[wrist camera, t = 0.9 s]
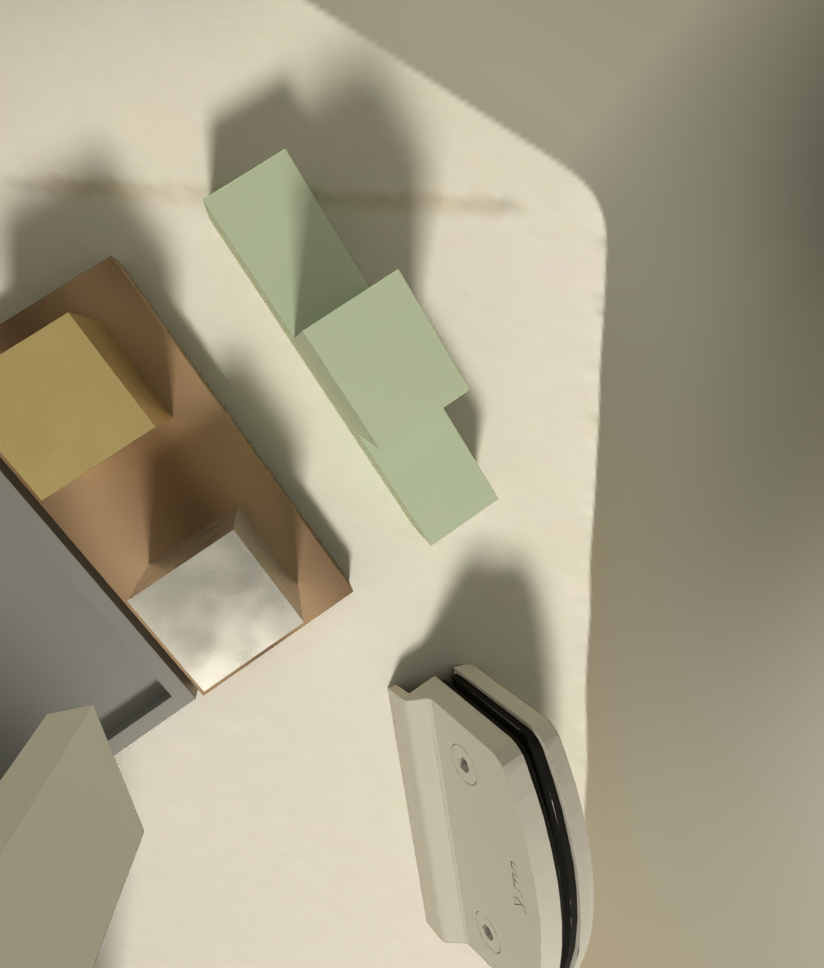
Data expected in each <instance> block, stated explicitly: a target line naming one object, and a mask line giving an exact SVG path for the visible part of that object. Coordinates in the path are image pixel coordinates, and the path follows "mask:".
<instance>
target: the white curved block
mask: <svg viewBox="0 0 824 968" xmlns="http://www.w3.org/2000/svg"><path fill="white" fill-rule="evenodd" d="M454 673H455V675H453V676H451V677H452V685H453V686H452V685H451V684H450V683H448V682H447V681H446V680H442V681H441V680H439V679H438V678H437V677H436V676H434V677H432V678H431V679H429V680H428V681H426V682H425V683H423V684H422V685H421V686H419V687H418V688H416V689H415V690H413V691H412V692H411V693H408V692H406V691H405V690H403V689H402V688H400V687H399V686H398V685H396V684H395V685H393V686H391V687H389V688H388V693H389V699H390V705H391V711H392V717H393V723H394V729H395V735H396V741H397V747H398V753H399V759H400V765H401V771H402V777H403V783H404V789H405V795H406V801H407V807H408V813H409V819H410V825H411V831H412V837H413V843H414V848H415V854H416V860H417V866H418V872H419V878H420V884H421V890H422V896H423V902H424V908H425V914H426V920H427V923H428V924H429V926H430V927H431V928H432V929H433V930H434V932H435V933H436V934H437V935H438V937H439V938H440V939H441V940H442V941H443V942H446V943H466V944H468V945H470V946H471V947H472V948H473V949H474V950H475V951H476V952H477V953H478V954H479V955H480V956H481V957H482V958H483V959H484V960H485V961H486V962H487V963H488V964H489V965H490V966H491V967H492V968H578V966H579V965H580V963H581V962H582V960H583V958H584V956H585V953H586V950H587V948H588V943H589V939H590V935H591V929H592V922H593V908H594V888H593V872H592V862H591V855H590V847H589V841H588V836H587V831H586V825H585V821H584V816H583V811H582V807H581V803H580V799H579V796H578V792H577V788H576V784H575V781H574V778H573V775H572V771H571V768H570V765H569V762H568V759H567V756H566V753H565V750H564V748H563V745H562V742H561V739H560V736H559V734H558V732H557V731H556V729H555V727H554V726H553V725H552V724H551V722H550V721H549V720H547V719H546V718H545V717H543V716H542V715H541V714H539V713H538V712H536V711H535V710H534V709H532V708H531V707H530V706H528V705H527V704H526V703H524V702H523V701H522V700H520V699H519V698H517V697H516V696H515V695H513V694H512V693H511V692H509V691H508V690H507V689H505V688H504V687H502V686H501V685H500V684H498V683H497V682H496V681H494V680H493V679H492V678H490V677H489V676H487V675H486V674H485V673H483V672H482V671H481V670H479V669H478V668H477V667H475V666H474V665H473V664H464V665H460V666H455V667H454Z"/></svg>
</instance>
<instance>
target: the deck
mask: <svg viewBox="0 0 824 968" xmlns="http://www.w3.org/2000/svg"><path fill="white" fill-rule="evenodd" d="M68 312H69V313H72V314H76V315H79V316H83V317H87V318H90V319H94V320H97V321H101V322H102V323H103V324H104V325H105V327H106V328H107V330H108V331H109V332H110V334H111V335H112V336H113V338H114V339H115V340H116V342H117V343H118V344H119V346H120V347H121V348H122V350H123V351H124V352H125V354H126V355H127V356H128V358H129V359H130V360H131V362H132V363H133V364H134V366H135V367H136V368H137V370H138V371H139V372H140V374H141V375H142V376H143V378H144V379H145V380H146V382H147V383H148V384H149V386H150V387H151V388H152V390H153V391H154V392H155V394H156V395H157V396H158V398H159V399H160V400H161V402H162V403H163V404H164V406H165V407H166V408H167V410H168V411H169V412H170V414H171V415H172V416H173V417H172V418H171V419H169V420H168V421H166V422H165V423H163V424H162V425H160V426H159V427H157V428H156V429H154V430H152V431H151V432H149V433H148V434H146V435H145V436H143V437H142V438H140V439H139V440H137V441H135V442H134V443H132V444H131V445H129V446H128V447H126V448H125V449H123V450H122V451H120V452H118V453H117V454H115V455H114V456H112V457H111V458H109V459H108V460H106V461H105V462H103V463H102V464H100V465H98V466H97V467H95V468H94V469H92V470H91V471H89V472H88V473H86V474H85V475H83V476H81V477H80V478H78V479H77V480H75V481H73V482H72V483H70V484H68V485H67V486H65V487H63V488H62V489H60V490H58V491H57V492H55V493H53V494H52V495H50V496H48V497H47V498H45V499H43V500H41V499H40V498H39V497H38V496H37V495H36V493H35V492H34V491H33V490H32V489H31V487H30V486H29V485H28V484H27V483H26V482H25V480H24V479H23V478H22V477H21V476H20V475H19V473H18V472H17V471H16V470H15V469H14V467H13V466H12V465H11V464H10V463H9V462H8V460H7V459H6V458H5V457H4V456H3V454H2V453H1V452H0V457H1V458H2V460H3V461H4V462H5V463H6V464H7V465H8V467H9V468H10V469H11V470H12V471H13V472H14V474H15V475H16V476H17V477H18V478H19V480H20V481H21V482H22V483H23V484H24V485H25V487H26V488H27V489H28V490H29V491H30V492H31V494H32V495H33V496H34V497H35V498H36V499H37V501H38V502H39V503H40V504H41V505H42V507H43V508H44V509H45V510H46V511H47V512H48V514H49V515H50V516H51V517H52V518H53V519H54V521H55V522H56V523H57V524H58V525H59V527H60V528H61V529H62V530H63V531H64V532H65V534H66V535H67V536H68V537H69V538H70V539H71V541H72V542H73V543H74V544H75V545H76V546H77V548H78V549H79V550H80V551H81V552H82V554H83V555H84V556H85V557H86V558H87V559H88V561H89V562H90V563H91V564H92V565H93V566H94V568H95V569H96V570H97V571H98V572H99V574H100V575H101V576H102V577H103V578H104V579H105V581H106V582H107V583H108V584H109V585H110V586H111V588H112V589H113V590H114V591H115V592H116V593H117V595H118V596H119V597H120V598H121V599H122V601H123V602H124V603H125V604H126V605H127V606H128V608H129V609H130V610H131V611H132V612H133V613H134V615H135V616H136V617H137V618H138V619H139V620H140V622H141V623H142V624H143V625H144V626H145V628H146V629H147V630H148V631H149V632H150V633H151V635H152V636H153V637H154V638H155V639H156V640H157V642H158V643H159V644H160V645H161V646H162V648H163V649H164V650H165V651H166V652H167V653H168V655H169V656H170V657H171V658H172V659H173V660H174V662H175V663H176V664H177V665H178V666H179V667H180V669H181V670H182V671H183V672H184V673H185V675H186V676H187V677H188V678H189V679H190V680H191V682H192V683H193V684H194V685H195V686H196V687H197V689H198V690H199V691H200V692H201V693H202V695H203V696H204V695H205V694H207V693H208V692H209V691H211V690H212V689H214V688H215V687H217V686H218V685H219V684H221V683H222V682H224V681H225V680H227V679H228V678H230V677H231V676H232V675H234V674H235V673H237V672H238V671H240V670H241V669H242V668H244V667H245V666H247V665H248V664H250V663H251V662H253V661H254V660H255V659H257V658H258V657H260V656H261V655H263V654H264V653H265V652H267V651H268V650H270V649H271V648H273V647H274V646H276V645H277V644H278V643H280V642H281V641H283V640H284V639H286V638H287V637H288V636H290V635H291V634H293V633H294V632H296V631H297V630H299V629H300V628H301V627H303V626H304V625H306V624H307V623H309V622H310V621H311V620H313V619H314V618H316V617H317V616H319V615H320V614H322V613H323V612H324V611H326V610H327V609H329V608H330V607H332V606H333V605H334V604H336V603H337V602H339V601H340V600H342V599H343V598H345V597H346V596H347V595H349V594H350V593H352V592H353V590H352V588H351V585H350V583H349V581H348V580H347V578H346V577H345V575H344V574H343V573H342V571H341V570H340V568H339V567H338V566H337V564H336V563H335V561H334V560H333V559H332V557H331V556H330V555H329V553H328V552H327V550H326V549H325V548H324V546H323V545H322V543H321V542H320V541H319V539H318V538H317V536H316V535H315V534H314V532H313V531H312V529H311V528H310V527H309V525H308V524H307V523H306V521H305V520H304V518H303V517H302V516H301V514H300V513H299V511H298V510H297V509H296V507H295V506H294V504H293V503H292V502H291V500H290V499H289V497H288V496H287V495H286V493H285V492H284V491H283V489H282V488H281V486H280V485H279V484H278V482H277V481H276V479H275V478H274V477H273V475H272V474H271V472H270V471H269V470H268V468H267V467H266V466H265V464H264V463H263V461H262V460H261V459H260V457H259V456H258V454H257V453H256V452H255V450H254V449H253V447H252V446H251V445H250V443H249V442H248V440H247V439H246V438H245V436H244V435H243V434H242V432H241V431H240V429H239V428H238V427H237V425H236V424H235V422H234V421H233V420H232V418H231V417H230V415H229V414H228V413H227V411H226V410H225V408H224V407H223V406H222V404H221V403H220V402H219V400H218V399H217V397H216V396H215V395H214V393H213V392H212V390H211V389H210V388H209V386H208V385H207V383H206V382H205V381H204V379H203V378H202V376H201V375H200V374H199V372H198V371H197V370H196V368H195V367H194V365H193V364H192V363H191V361H190V360H189V358H188V357H187V356H186V354H185V353H184V351H183V350H182V349H181V347H180V346H179V344H178V343H177V342H176V340H175V339H174V338H173V336H172V335H171V333H170V332H169V331H168V329H167V328H166V326H165V325H164V324H163V322H162V321H161V319H160V318H159V317H158V315H157V314H156V312H155V311H154V310H153V308H152V307H151V306H150V304H149V303H148V301H147V300H146V299H145V297H144V296H143V294H142V293H141V292H140V290H139V289H138V287H137V286H136V285H135V283H134V282H133V280H132V279H131V278H130V276H129V275H128V274H127V272H126V271H125V269H124V268H123V267H122V265H121V264H120V262H119V261H117V260H116V259H115V258H113V257H112V256H111V257H109V258H107V259H106V260H104V261H102V262H101V263H99V264H98V265H96V266H94V267H93V268H91V269H89V270H88V271H86V272H85V273H83V274H81V275H80V276H78V277H77V278H75V279H73V280H72V281H70V282H68V283H67V284H65V285H64V286H62V287H60V288H59V289H57V290H55V291H54V292H52V293H51V294H49V295H47V296H46V297H44V298H43V299H41V300H39V301H38V302H36V303H34V304H33V305H31V306H30V307H28V308H26V309H25V310H23V311H21V312H20V313H18V314H17V315H15V316H13V317H12V318H10V319H8V320H7V321H5V322H4V323H2V324H0V354H2V353H4V352H5V351H7V350H8V349H10V348H12V347H13V346H15V345H16V344H18V343H20V342H21V341H23V340H24V339H26V338H28V337H29V336H31V335H32V334H34V333H36V332H37V331H39V330H41V329H42V328H44V327H45V326H47V325H49V324H50V323H52V322H53V321H55V320H57V319H58V318H60V317H61V316H63V315H65V314H66V313H68ZM236 505H239V506H240V507H241V509H242V510H243V511H244V513H245V514H246V515H247V517H248V518H249V519H250V521H251V522H252V523H253V525H254V526H255V527H256V529H257V530H258V531H259V533H260V534H261V535H262V537H263V538H264V539H265V541H266V542H267V543H268V545H269V546H270V547H271V549H272V550H273V551H274V553H275V554H276V556H277V557H278V558H279V560H280V561H281V562H282V564H283V565H284V566H285V568H286V569H287V570H288V572H289V573H290V574H291V576H292V577H293V578H294V580H295V581H296V582H297V584H298V588H299V594H300V601H301V607H302V614H303V620H304V623H302V624H301V625H299V626H298V627H296V628H295V629H294V630H292V631H291V632H289V633H288V634H286V635H285V636H283V637H282V638H281V639H279V640H278V641H276V642H275V643H273V644H272V645H271V646H269V647H268V648H266V649H265V650H263V651H262V652H260V653H259V654H258V655H256V656H255V657H253V658H252V659H250V660H249V661H248V662H246V663H245V664H243V665H242V666H240V667H239V668H237V669H236V670H235V671H233V672H232V673H230V674H229V675H227V676H226V677H225V678H223V679H222V680H220V681H219V682H217V683H216V684H214V685H213V686H212V687H210V688H209V689H207V690H206V691H203V690H202V689H201V688H200V687H199V685H198V684H197V683H196V682H195V681H194V679H193V678H192V677H191V676H190V675H189V674H188V672H187V671H186V670H185V669H184V668H183V666H182V665H181V664H180V663H179V662H178V661H177V659H176V658H175V657H174V656H173V655H172V654H171V652H170V651H169V650H168V649H167V648H166V646H165V645H164V644H163V643H162V642H161V641H160V639H159V638H158V637H157V636H156V635H155V634H154V632H153V631H152V630H151V629H150V628H149V626H148V625H147V624H146V623H145V622H144V621H143V619H142V618H141V617H140V616H139V615H138V613H137V612H136V611H135V610H134V609H133V608H132V606H131V605H130V604H129V603H128V602H127V600H128V599H129V597H130V595H131V594H132V592H133V590H134V589H135V587H136V585H137V583H138V582H139V580H140V578H141V577H142V575H143V573H144V571H145V570H146V568H147V566H148V565H149V564H150V563H151V562H153V561H154V560H156V559H157V558H159V557H160V556H162V555H163V554H165V553H166V552H168V551H169V550H171V549H172V548H174V547H175V546H177V545H178V544H180V543H181V542H183V541H184V540H186V539H187V538H189V537H190V536H192V535H193V534H195V533H196V532H198V531H199V530H201V529H202V528H204V527H205V526H207V525H208V524H209V523H211V522H212V521H214V520H215V519H217V518H218V517H220V516H221V515H223V514H224V513H226V512H227V511H229V510H230V509H232V508H233V507H235V506H236Z"/></svg>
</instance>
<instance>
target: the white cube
mask: <svg viewBox="0 0 824 968" xmlns="http://www.w3.org/2000/svg"><path fill="white" fill-rule="evenodd" d="M127 602H128V603H129V604H130V605H131V606H132V608H133V609H134V610H135V611H136V612H137V613H138V615H139V616H140V617H141V618H142V619H143V621H144V622H145V623H146V624H147V625H148V626H149V628H150V629H151V630H152V631H153V632H154V634H155V635H156V636H157V637H158V638H159V639H160V641H161V642H162V643H163V644H164V645H165V646H166V648H167V649H168V650H169V651H170V652H171V654H172V655H173V656H174V657H175V658H176V659H177V661H178V662H179V663H180V664H181V665H182V666H183V668H184V669H185V670H186V671H187V672H188V674H189V675H190V676H191V677H192V678H193V679H194V681H195V682H196V683H197V684H198V685H199V687H200V688H201V689H202V690H203V691H206V690H207V689H209V688H210V687H212V686H213V685H214V684H216V683H217V682H219V681H220V680H222V679H223V678H225V677H226V676H227V675H229V674H230V673H232V672H233V671H235V670H236V669H237V668H239V667H240V666H242V665H243V664H245V663H246V662H248V661H249V660H250V659H252V658H253V657H255V656H256V655H258V654H259V653H260V652H262V651H263V650H265V649H266V648H268V647H269V646H271V645H272V644H273V643H275V642H276V641H278V640H279V639H281V638H282V637H283V636H285V635H286V634H288V633H289V632H291V631H292V630H294V629H295V628H296V627H298V626H299V625H301V624H302V623H304V620H303V614H302V607H301V601H300V594H299V588H298V584H297V582H296V581H295V580H294V578H293V577H292V576H291V574H290V573H289V572H288V570H287V569H286V568H285V566H284V565H283V564H282V562H281V561H280V560H279V558H278V557H277V556H276V554H275V553H274V551H273V550H272V549H271V547H270V546H269V545H268V543H267V542H266V541H265V539H264V538H263V537H262V535H261V534H260V533H259V531H258V530H257V529H256V527H255V526H254V525H253V523H252V522H251V521H250V519H249V518H248V517H247V515H246V514H245V513H244V511H243V510H242V509H241V507H240V506H239V505H236V506H235V507H233V508H232V509H230V510H229V511H227V512H226V513H224V514H223V515H221V516H220V517H218V518H217V519H215V520H214V521H212V522H211V523H209V524H208V525H207V526H205V527H204V528H202V529H201V530H199V531H198V532H196V533H195V534H193V535H192V536H190V537H189V538H187V539H186V540H184V541H183V542H181V543H180V544H178V545H177V546H175V547H174V548H172V549H171V550H169V551H168V552H166V553H165V554H163V555H162V556H160V557H159V558H157V559H156V560H154V561H153V562H151V563H150V564H149V565H148V566H147V568H146V570H145V571H144V573H143V575H142V577H141V578H140V580H139V582H138V583H137V585H136V587H135V589H134V590H133V592H132V594H131V595H130V597H129V599H128V600H127Z"/></svg>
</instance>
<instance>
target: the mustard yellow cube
mask: <svg viewBox="0 0 824 968" xmlns="http://www.w3.org/2000/svg"><path fill="white" fill-rule="evenodd" d="M172 417H173V416H172V415H171V414H170V412H169V411H168V410H167V408H166V407H165V406H164V404H163V403H162V402H161V400H160V399H159V398H158V396H157V395H156V394H155V392H154V391H153V390H152V388H151V387H150V386H149V384H148V383H147V382H146V380H145V379H144V378H143V376H142V375H141V374H140V372H139V371H138V370H137V368H136V367H135V366H134V364H133V363H132V362H131V360H130V359H129V358H128V356H127V355H126V354H125V352H124V351H123V350H122V348H121V347H120V346H119V344H118V343H117V342H116V340H115V339H114V338H113V336H112V335H111V334H110V332H109V331H108V330H107V328H106V327H105V325H104V324H103V323H102V322H101V321H97V320H94V319H90V318H87V317H83V316H79V315H76V314H72V313H69V312H68V313H66V314H65V315H63V316H61V317H60V318H58V319H57V320H55V321H53V322H52V323H50V324H49V325H47V326H45V327H44V328H42V329H41V330H39V331H37V332H36V333H34V334H32V335H31V336H29V337H28V338H26V339H24V340H23V341H21V342H20V343H18V344H16V345H15V346H13V347H12V348H10V349H8V350H7V351H5V352H4V353H2V354H0V452H1V453H2V454H3V456H4V457H5V458H6V459H7V460H8V462H9V463H10V464H11V465H12V466H13V467H14V469H15V470H16V471H17V472H18V473H19V475H20V476H21V477H22V478H23V479H24V480H25V482H26V483H27V484H28V485H29V486H30V487H31V489H32V490H33V491H34V492H35V493H36V495H37V496H38V497H39V498H40V499H41V500H43V499H45V498H47V497H48V496H50V495H52V494H53V493H55V492H57V491H58V490H60V489H62V488H63V487H65V486H67V485H68V484H70V483H72V482H73V481H75V480H77V479H78V478H80V477H81V476H83V475H85V474H86V473H88V472H89V471H91V470H92V469H94V468H95V467H97V466H98V465H100V464H102V463H103V462H105V461H106V460H108V459H109V458H111V457H112V456H114V455H115V454H117V453H118V452H120V451H122V450H123V449H125V448H126V447H128V446H129V445H131V444H132V443H134V442H135V441H137V440H139V439H140V438H142V437H143V436H145V435H146V434H148V433H149V432H151V431H152V430H154V429H156V428H157V427H159V426H160V425H162V424H163V423H165V422H166V421H168V420H169V419H171V418H172Z"/></svg>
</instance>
